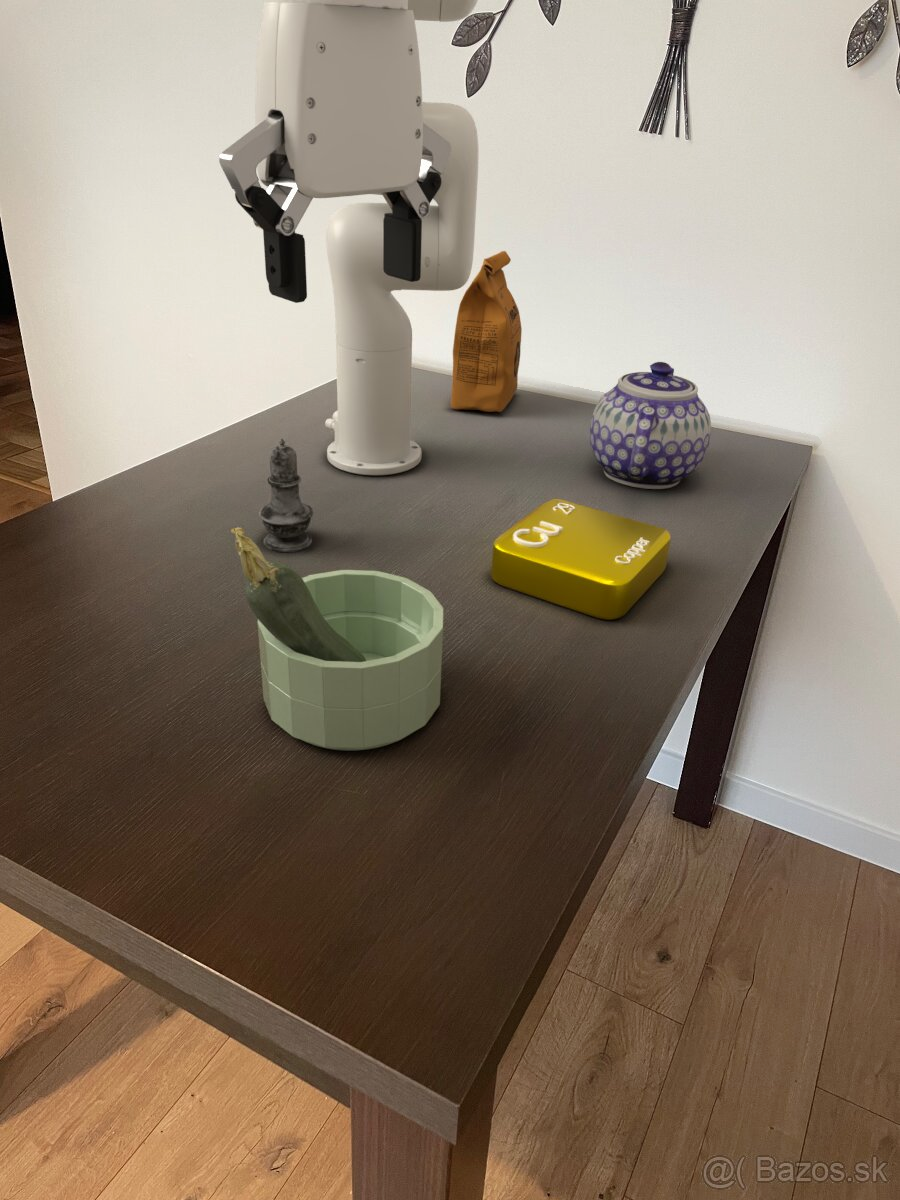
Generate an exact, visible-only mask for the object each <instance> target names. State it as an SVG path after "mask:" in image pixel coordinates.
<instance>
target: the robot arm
mask: <svg viewBox="0 0 900 1200" xmlns="http://www.w3.org/2000/svg"><path fill="white" fill-rule="evenodd" d="M478 1H479V0H275V1H273V2H271V1H264V2H263V7H262V13H261V19H260V24H259V25H260V26H259V34H258V42H257V53H256V67H255V96H254V97H255V100H254V103H255V104H254V105H255V106H254V120H255V121H254V123H255V124H254V127H253V128H252V129H251V130H249V131H248V132H247V133H245V134H244V135H242V136H241V137H240V138H239V139H237V140H236V141H235V142H234V143H233V144H230V146H228V147H227V148H226V149H224V150H223V151H222V152H221V153H220V154H219V158H218V159H219V161H218V162H219V165H220V167H221V170H222V171H223V173H224V175H225V177H226V179H227V181H228V183H229V185H230V187H231V189H232V190H233V191H234V192H235V193H234V198H235V201H236V202H237V204H238V205H239V206H240V207H241V209H243V210H244V211H245V212H246V213H247V214H248V215H249V217H250V218H251V219H252V222H253V225H254V226H255V227H256V228H257V229H260V230H262V232H263V233H262V235H263V248H264V251H263V252H264V264H265V265H264V266H265V268H264V269H265V277H266V281H267V284H268V291H269V293H270V294H271V295H272V296H274V297H277V298H281V299H283V300H286V301H290V302H292V303H295V304H297V303H304V302H305V301H306V300H307V298H308V287H307V283H308V282H307V261H306V260H307V259H306V241H305V240H306V239H305V237H304V234H301V233H297V232H296V230H297V228H298V226H299V224H300V223H301V221H302V219H303V217H304V215H305V214H306V211H307V210H308V208H309V206H310V205H311V202H312V201H313V199H330V198H331V199H332V198H333V199H334V198H342V197H343V198H344V197H355V196H364V195H374V196H375V195H376V196H382V197H383V199H384V200H385V202H357V203H350V204H347V205H344V206H341V207H340V208H338V209H336V210H335V211H334V212H333V213H332V214H331V216H330V217H329V219H328V221H327V224H326V229H325V247H326V255H327V260H328V261H327V262H328V266H329V271H330V272H329V273H330V278H331V284H332V285H331V286H332V292H333V303H334V304H333V306H334V318H335V322H334V323H335V356H336V357H335V359H336V397H337V398H336V399H337V410H335V411H334V412H333V414H332V417H331V418H330V417H328V418H327V419H326V420H325V422H324V426H325V427H326V429H329V430H331V431H334V441H332V442H331V443H330V444H329V445H328V446H327V448H326V458H327V461H328V462H329V464H330V465H332V466H333V467H335V468H337V469H339V470H341V471H344V472H346V473H351V474H356V475H362V476H388V475H394V474H400V473H404V472H406V471H409V470H411V469H414V468H415V467H417V466H418V465H419V463H421V461H422V455H423V454H422V450H423V449H422V447H421V446H420V445H419V444H418V443H416V442H415V441H413V440H412V439H411V423H412V422H411V418H412V416H411V415H412V413H411V411H412V367H413V365H412V364H413V363H412V361H413V328H412V323H411V320H410V318H409V315H408V314H407V312H406V310H405V308H403V306H402V305H401V304H400V302H399V301H398V300H397V298H396V297H395V295H393V293H392V292H393V291H402V290H403V291H428V292H429V291H430V292H431V291H434V292H446V291H448V292H449V291H456V290H458V289H461V288H462V287H464V286H465V285H466V284H467V283H468V281H469V279H470V276H471V272H472V268H473V264H474V263H473V261H474V252H475V236H476V235H475V233H476V216H477V197H478V180H479V138H478V131H477V126H476V122H475V120H474V117H473V115H472V114H471V113H470V111H468V110H467V109H466V108H465V107H463V106H461V105H458V104H454V103H450V102H449V103H447V102H431V101H430V102H427V101H423V88H422V86H423V85H422V73H421V60H420V49H419V43H418V42H419V41H418V33H417V27H416V21H425V22H440V23H442V22H443V23H449V22H452V23H453V22H456V21H461V20H463V19H465V18H467V17H468V16H470V14H471V13H472V12H473V11H474V9H475V7H476V5H477V3H478ZM260 183H262V184H263V185H264V186H265V187H267V189H265V188H263V187H262V185H261V184H260ZM432 201H435V202H436V204H437V205H432V204H431V202H432Z"/></svg>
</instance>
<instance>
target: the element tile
mask: <svg viewBox="0 0 900 1200" xmlns="http://www.w3.org/2000/svg"><path fill="white" fill-rule="evenodd" d="M671 539H672V537H671V533H670V532H669V531H668V530H667V529H665V528H663V527H660V526H656V525H653V524H649V523H646V522H643V521H638V520H635V519H632V518H628V517H624V516H621V515H618V514H613V513H611V512H607V511H604V510H600V509H596V508H593V507H590V506H587V505H582V504H579V503H576V502H571V501H569V500H564V499H560V498H553V499H550V500H547V501H544V502H543V503H542V504H541V505H539V506H538V507H536V508H535V509H534V510H532V511H531V512H530V513H528V514H527V515H526V516H524V517H523V518H522V519H520V520H519V521H518V522H517V523H515V524H514V525H513V526H511V527H510V528H508V529H507V530H506V531H504V532H503V533H502V534H500V535H499V536H498V537H496V538H495V540H494V541H493V545H492V558H491V571H490V572H491V573H490V576H491V578H492V581H494V582H495V583H496V584H498V585H499V586H502V587H505V588H508V589H510V590H513V591H517V592H519V593H523V594H525V595H528V596H531V597H534V598H537V599H540V600H542V601H546V602H548V603H551V604H554V605H557V606H560V607H563V608H566V609H570V610H572V611H575V612H578V613H582V614H584V615H587V616H590V617H593V618H597V619H601V620H608V621H612V620H617V619H621V618H622V617H623V616H625V615H626V614H627V613H628V612H629V610H630V609H631V608H632V607H633V606H634V605H635V604H636V603H637V602H638V601H639V600H640V599H641V597H642V596H643V595H644V594H645V593H646V592H647V590H648V589H650V587H651V586H652V585H653V584H654V583H655V582H656V581H657V579H659V577H661V576H662V574H663V573H664V572H665V570H666V568H667V562H668V556H669V551H670V544H671V541H672V540H671Z"/></svg>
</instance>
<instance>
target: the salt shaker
mask: <svg viewBox="0 0 900 1200" xmlns="http://www.w3.org/2000/svg"><path fill="white" fill-rule="evenodd" d="M278 444H279V445H278V446H275V447H273V448H272V449H271V450H270V452H269V455H268V456H269V457H268V458H269V471H270V472H269V473H270V476H268V477H267V483H268V485H269V486H270V501H269V503H267V504H265V505H263V506H262V507H261V508H260V509H259V511H258V516H259V518H260V519H261V520H262V525H263V526H264V529H265V530H266V531H267V532H268V534H267V535H265V537H264V538H263V545H264V546H265V547H266V548H267V549H269V550H271V551H274V552H279V553H295V552H299V551H302V550H305V549H306V548H308V547H309V546H310V545H311V544H312V542H313V539H312V536H311V535H310V534H309V533H307V532H306V530H308V528H309V527H310V526H309V525H310V523H311V520H312V517H313V515H314V509H313V507H311V505H310V504H307V503H305V502H302V501H301V497H300V488H299V487H300V486H299V485H300V483H301V482H302V477H301V476H300V475H299V474H298V461H297V452H296V450H295V449H294V448H292V447H291V446H289V445H286V441H285V439H283V438H280V440H279V441H278Z"/></svg>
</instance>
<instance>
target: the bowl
mask: <svg viewBox="0 0 900 1200" xmlns="http://www.w3.org/2000/svg"><path fill="white" fill-rule="evenodd" d="M301 578H302V579H303V581H304V582H305V584H306V586H307V587H308V589H309V591H310V593H311V595H312V598H313V600H314V602H315V604H316V605H317V607H318V609H319V611H320V613H321V615H322V616H323V617H324V619H325V620H326V621H327V623H328V624H329V625H330V626H331V627H332V628H333V629H334V630H335V631H336V632H337V633H338V634H339V635H340V636H342V637H343V638H344V639H346V640H347V641H348V642H349V643H350V644H351V645H352V646H353V647H354V648H355V649H357V650H358V651H359V652H360V653H361V654H362V655H363V656H364V657H365V659H366V661H364V662H345V661H325V660H321V659H318V658H314V657H311V656H307V655H304V654H300V653H297V652H295V651H293V650H292V649H290V648H289V647H288V646H286V645H285V644H283V643H282V642H280V641H279V640H278V639H277V638H276V637H274V636H273V635H272V634H271V633H270V632H269V631H268V630H267V629H266V628H265V627H264V625H263V624H262V623H261V622H260V621H259V620H258V619H257V623H256V624H257V636H258V647H259V659H260V672H261V683H262V696H263V701H264V704H265V707H266V709H267V712H268V715H269V717H270V720H271V721H273V722H274V723H275V724H276V725H278V727H280V728H281V729H283V731H284V732H286V733H288V735H290V736H291V737H293V738H294V739H297V740H301V741H302V742H305V743H307V744H310V745H312V746H316V747H319V748H323V749H328V750H334V751H348V752H349V751H365V750H373V749H377V748H381V747H385V746H388V745H391V744H394V743H396V742H399V741H401V740H403V739H404V738H406V737H408V736H410V735H411V734H413V733H414V732H416V731H418V730H419V729H421V728H423V727H425V726H426V725H427V723H428V722H429V720H430V719H431V718H432V717H433V715H434V714H435V712H436V711H437V709H438V708H439V706H440V705H441V685H442V664H443V663H442V662H443V661H442V660H443V638H444V607H443V606H442V605H441V603H440V602H439V600H438V599H437V598H436V597H435V595H434V594H433V592H432V591H431V590H429V589H427V588H425V587H424V586H422V585H420V584H418V583H417V582H415V581H413V580H411V579H409V578H407V577H404V576H400V575H396V574H391V573H387V572H383V571H380V570H363V569H362V570H361V569H339V570H338V569H337V570H332V571H327V572H320V573H313V574H308V575H306V576H304V577H301Z"/></svg>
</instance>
